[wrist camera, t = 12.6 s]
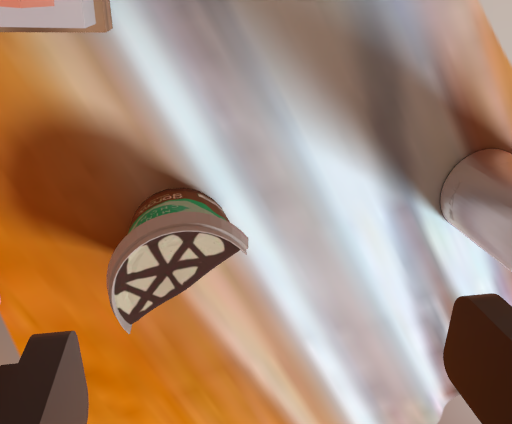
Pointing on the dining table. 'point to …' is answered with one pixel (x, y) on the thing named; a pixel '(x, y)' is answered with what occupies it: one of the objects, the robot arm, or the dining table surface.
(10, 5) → the red block
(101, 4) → the bottom slab
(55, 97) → the dining table surface
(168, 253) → the food container
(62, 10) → the top slab
